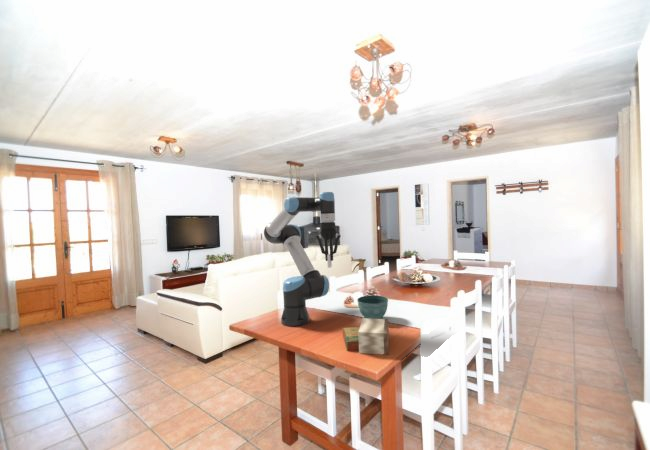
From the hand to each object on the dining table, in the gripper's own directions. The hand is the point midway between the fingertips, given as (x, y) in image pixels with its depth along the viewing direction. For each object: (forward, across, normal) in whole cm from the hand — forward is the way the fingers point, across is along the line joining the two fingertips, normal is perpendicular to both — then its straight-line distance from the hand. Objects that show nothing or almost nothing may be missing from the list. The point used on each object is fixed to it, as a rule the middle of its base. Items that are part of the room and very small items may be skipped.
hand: (329, 267), depth 157 cm
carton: (+30, +15, -23) cm, 40 cm away
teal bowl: (+30, +21, +8) cm, 37 cm away
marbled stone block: (+29, +23, -24) cm, 45 cm away
